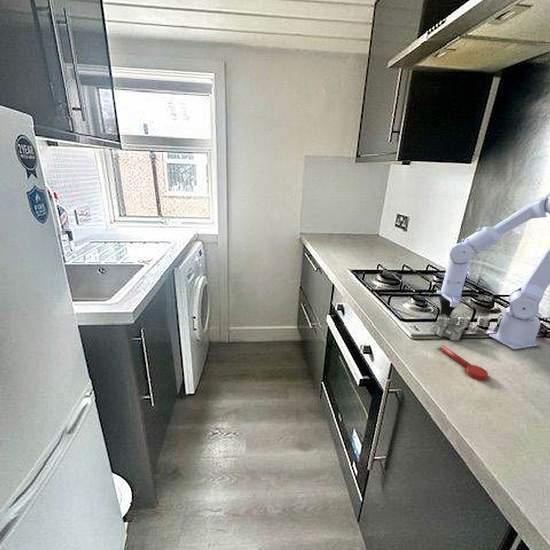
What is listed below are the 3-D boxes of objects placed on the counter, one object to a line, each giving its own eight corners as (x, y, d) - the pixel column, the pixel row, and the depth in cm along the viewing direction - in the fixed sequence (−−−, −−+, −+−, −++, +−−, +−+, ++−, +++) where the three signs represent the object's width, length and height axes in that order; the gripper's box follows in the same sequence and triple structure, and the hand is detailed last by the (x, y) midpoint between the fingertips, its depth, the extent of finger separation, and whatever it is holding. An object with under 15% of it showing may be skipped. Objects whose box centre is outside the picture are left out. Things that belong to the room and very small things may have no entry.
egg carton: (457, 343, 89) (461, 331, 87) (430, 333, 93) (433, 322, 92) (465, 330, 96) (469, 319, 95) (440, 322, 101) (443, 311, 100)
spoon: (446, 347, 86) (447, 343, 86) (491, 378, 73) (492, 373, 73) (433, 349, 85) (434, 345, 84) (476, 381, 72) (478, 376, 72)
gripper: (436, 271, 104) (428, 307, 108) (444, 285, 91) (434, 325, 95) (459, 275, 102) (449, 311, 106) (470, 289, 89) (459, 330, 93)
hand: (444, 318), depth 100 cm, fingers closed
